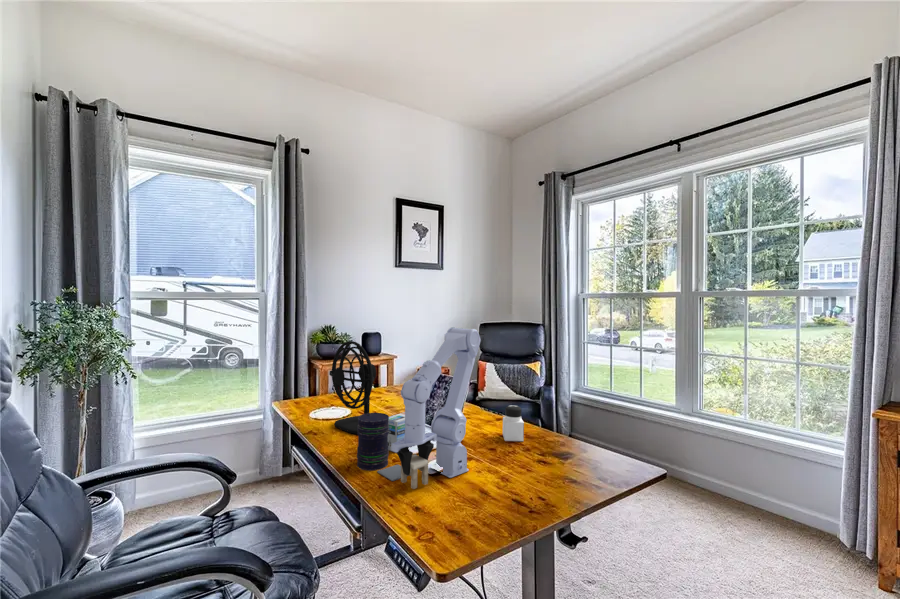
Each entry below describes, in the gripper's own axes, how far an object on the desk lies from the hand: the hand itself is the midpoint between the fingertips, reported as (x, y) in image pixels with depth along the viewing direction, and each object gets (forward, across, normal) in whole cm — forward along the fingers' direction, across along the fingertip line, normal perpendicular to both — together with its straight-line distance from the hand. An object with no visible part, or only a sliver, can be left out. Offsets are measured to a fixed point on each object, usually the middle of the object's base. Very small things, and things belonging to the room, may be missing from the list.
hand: (414, 471), depth 115 cm
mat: (+4, 0, -10) cm, 11 cm away
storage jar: (+4, +1, -20) cm, 21 cm away
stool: (+3, 0, 0) cm, 3 cm away
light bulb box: (+4, -14, -27) cm, 31 cm away
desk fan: (+4, -13, -56) cm, 58 cm away
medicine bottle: (+4, -52, -7) cm, 53 cm away
